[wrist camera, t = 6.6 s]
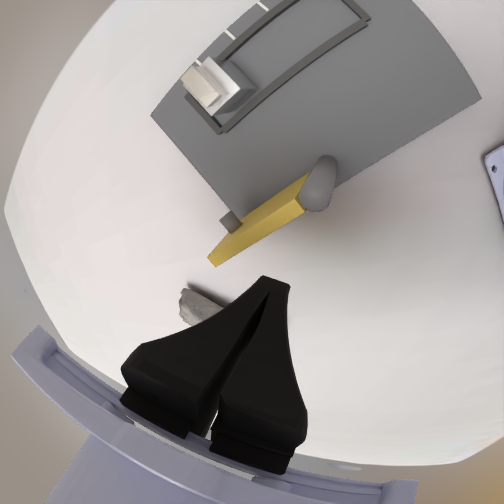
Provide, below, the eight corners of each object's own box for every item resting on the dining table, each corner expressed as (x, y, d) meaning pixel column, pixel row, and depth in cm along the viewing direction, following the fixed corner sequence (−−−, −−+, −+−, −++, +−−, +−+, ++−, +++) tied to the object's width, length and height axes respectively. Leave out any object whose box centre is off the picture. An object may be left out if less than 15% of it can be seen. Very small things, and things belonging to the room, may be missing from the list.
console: (475, 97, 11) (531, 106, 5) (258, 231, 22) (221, 285, 17) (348, -48, 8) (338, -102, 2) (159, 113, 20) (92, 130, 14)
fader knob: (258, 89, 15) (231, 88, 12) (232, 112, 16) (200, 118, 13) (230, 60, 14) (197, 54, 11) (206, 84, 16) (170, 85, 13)
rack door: (318, 181, 17) (304, 212, 13) (245, 229, 20) (215, 267, 16) (300, 156, 16) (279, 179, 12) (229, 209, 20) (194, 243, 16)
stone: (276, 353, 30) (263, 382, 27) (182, 316, 33) (164, 339, 30) (287, 318, 26) (273, 351, 23) (177, 277, 29) (155, 302, 26)
